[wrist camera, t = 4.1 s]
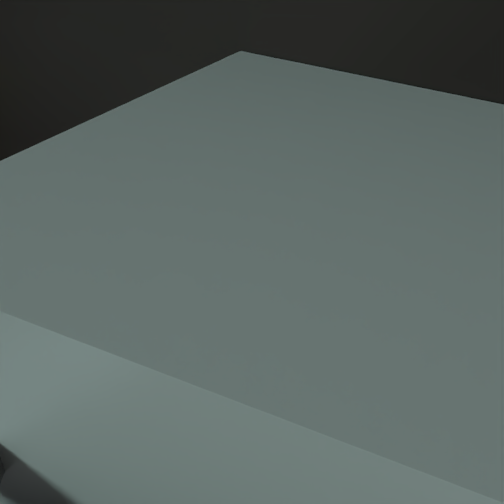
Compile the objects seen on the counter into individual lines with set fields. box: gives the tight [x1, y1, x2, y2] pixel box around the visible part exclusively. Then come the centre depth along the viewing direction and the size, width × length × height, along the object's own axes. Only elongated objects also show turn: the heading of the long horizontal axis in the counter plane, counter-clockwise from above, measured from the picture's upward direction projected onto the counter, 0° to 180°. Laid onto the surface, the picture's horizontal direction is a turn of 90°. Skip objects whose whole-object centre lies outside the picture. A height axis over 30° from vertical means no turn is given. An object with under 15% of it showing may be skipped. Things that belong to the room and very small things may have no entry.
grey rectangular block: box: [0, 51, 504, 504], centre depth 8 cm, size 7×7×9 cm
